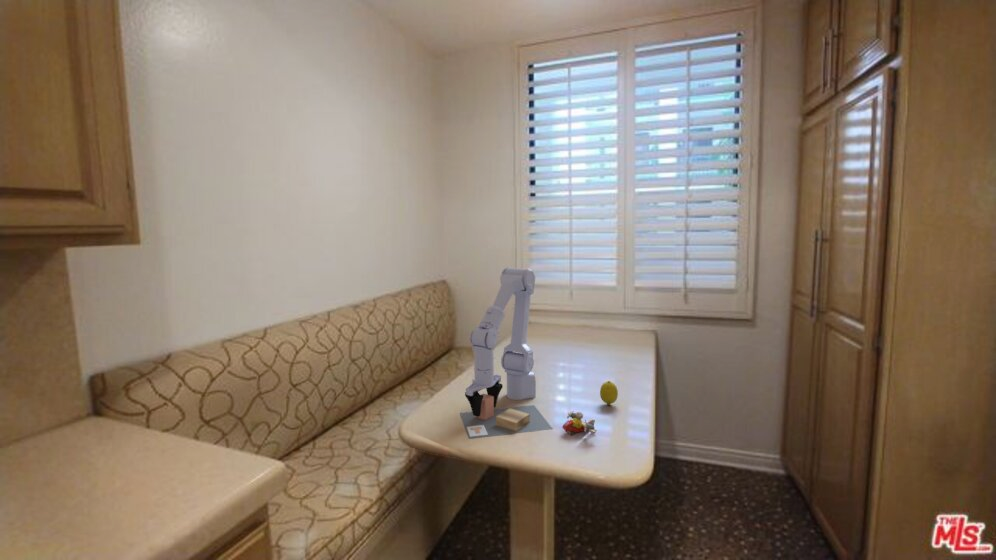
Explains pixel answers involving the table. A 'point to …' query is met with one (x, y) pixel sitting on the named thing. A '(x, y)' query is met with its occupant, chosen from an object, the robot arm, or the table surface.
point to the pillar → (487, 407)
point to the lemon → (608, 392)
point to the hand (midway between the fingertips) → (484, 411)
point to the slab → (513, 419)
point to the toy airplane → (578, 424)
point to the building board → (489, 428)
